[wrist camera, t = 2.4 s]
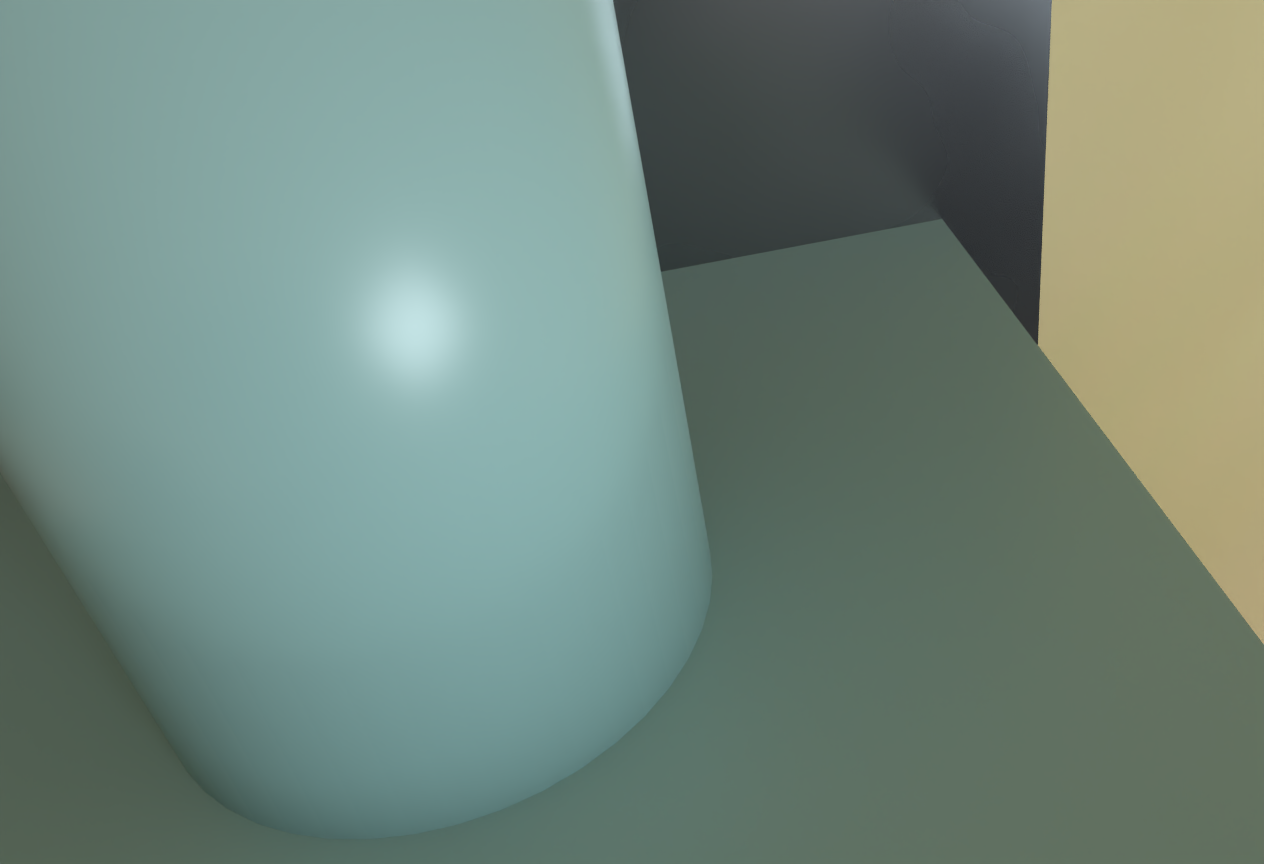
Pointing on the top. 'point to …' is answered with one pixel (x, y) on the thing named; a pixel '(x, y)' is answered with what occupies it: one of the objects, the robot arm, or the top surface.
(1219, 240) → the top surface
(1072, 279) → the top surface
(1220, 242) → the top surface
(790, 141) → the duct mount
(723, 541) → the duct collar
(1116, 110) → the top surface
